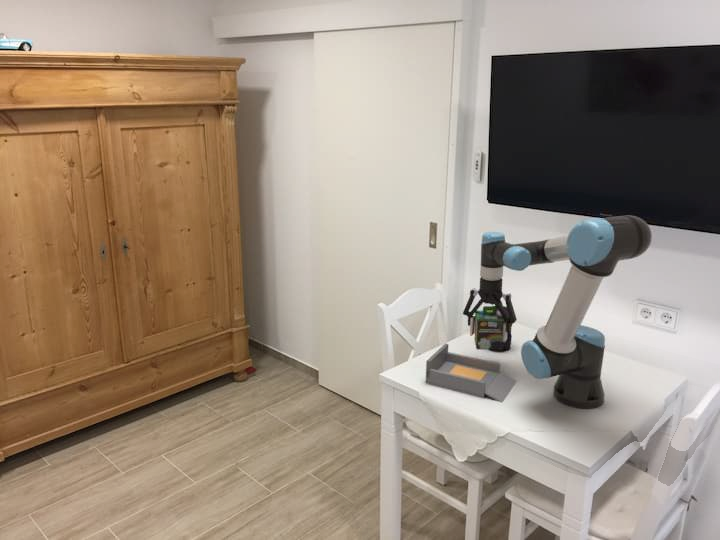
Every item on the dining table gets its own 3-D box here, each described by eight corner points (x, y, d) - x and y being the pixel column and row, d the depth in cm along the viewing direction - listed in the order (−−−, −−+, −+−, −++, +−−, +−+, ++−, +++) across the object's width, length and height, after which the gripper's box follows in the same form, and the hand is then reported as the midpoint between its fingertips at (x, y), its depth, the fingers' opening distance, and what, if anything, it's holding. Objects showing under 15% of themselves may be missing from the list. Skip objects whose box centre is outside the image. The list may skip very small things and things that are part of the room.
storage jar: (481, 349, 222) (484, 312, 218) (486, 340, 231) (489, 304, 227) (508, 354, 219) (511, 316, 214) (512, 344, 227) (515, 307, 223)
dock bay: (516, 382, 199) (518, 359, 196) (502, 403, 185) (504, 379, 183) (444, 365, 211) (445, 343, 209) (425, 384, 197) (426, 361, 195)
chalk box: (499, 340, 212) (502, 301, 208) (502, 350, 203) (505, 310, 199) (473, 339, 213) (475, 300, 209) (475, 349, 204) (477, 309, 200)
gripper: (528, 279, 198) (524, 339, 204) (462, 270, 210) (460, 328, 216) (522, 285, 192) (518, 347, 198) (454, 275, 203) (452, 335, 209)
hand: (488, 337), depth 207 cm, fingers closed on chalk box, 11 cm apart
